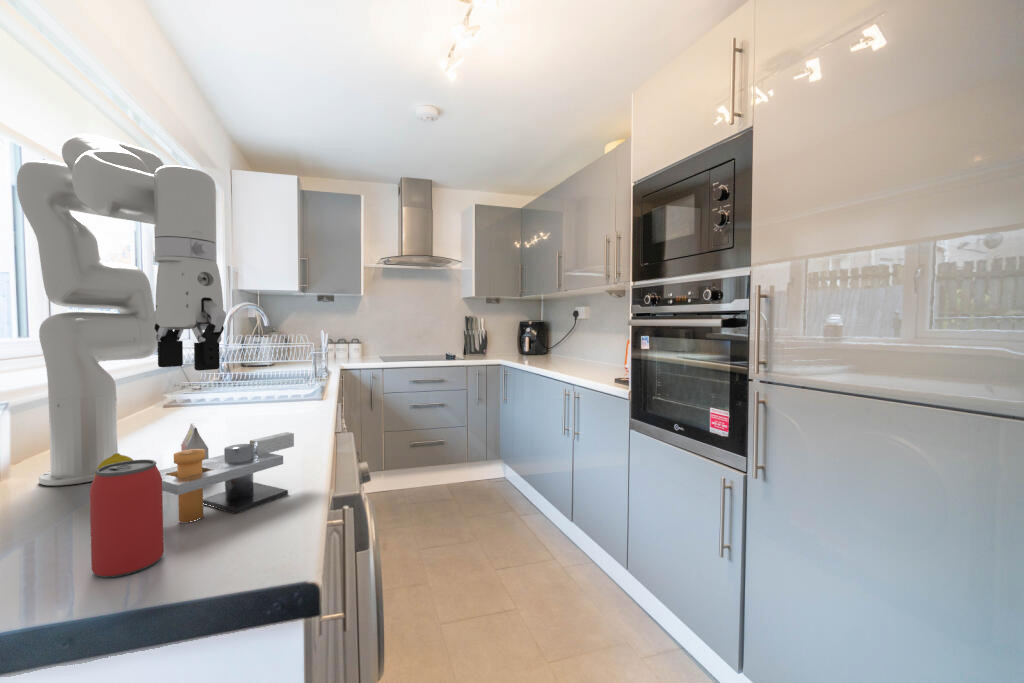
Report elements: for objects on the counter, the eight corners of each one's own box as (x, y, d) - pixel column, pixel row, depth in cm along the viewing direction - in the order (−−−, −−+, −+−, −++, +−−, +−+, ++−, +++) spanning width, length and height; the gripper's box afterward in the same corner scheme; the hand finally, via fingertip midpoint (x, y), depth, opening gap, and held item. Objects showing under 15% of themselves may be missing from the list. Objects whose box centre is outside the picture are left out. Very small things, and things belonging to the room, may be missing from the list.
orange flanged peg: (197, 511, 70) (195, 447, 70) (212, 516, 68) (210, 450, 68) (169, 521, 67) (168, 454, 67) (184, 526, 65) (182, 457, 65)
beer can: (121, 552, 57) (118, 458, 57) (176, 550, 58) (174, 457, 58) (75, 581, 51) (72, 475, 50) (138, 578, 51) (135, 473, 51)
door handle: (142, 522, 66) (140, 458, 66) (273, 479, 85) (272, 430, 85) (179, 535, 62) (177, 467, 62) (309, 487, 81) (308, 435, 81)
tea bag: (204, 471, 91) (203, 421, 91) (208, 479, 86) (207, 426, 85) (181, 474, 88) (180, 423, 88) (184, 483, 83) (183, 429, 83)
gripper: (247, 254, 67) (248, 369, 68) (182, 261, 75) (183, 363, 76) (192, 245, 61) (194, 373, 61) (127, 254, 68) (129, 367, 69)
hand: (188, 368), depth 68 cm, fingers open, 9 cm apart
